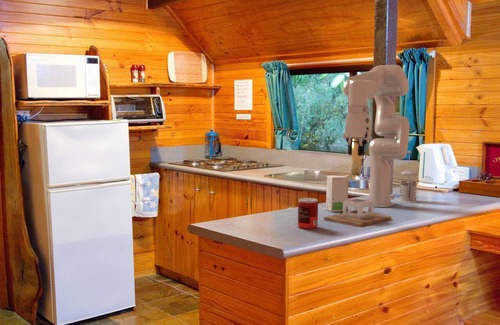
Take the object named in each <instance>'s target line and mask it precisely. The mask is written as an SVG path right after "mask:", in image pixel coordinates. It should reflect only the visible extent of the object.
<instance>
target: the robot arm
mask: <svg viewBox="0 0 500 325" xmlns="http://www.w3.org/2000/svg"><path fill="white" fill-rule="evenodd" d="M343 83H344V84H343V86H342V92H343V95H344V96H345V97H346V98H348V113H347V115H346V119H345V127H344V134H343V135H342V138H343V139H344V140H345V141H346V143H347V144H348V154H349V156H352V138H359V143H360V146H359V147H358V155H359V156H361V157H362V156H365V153H366V152H365V151H366V148H365V147H366V146H367V144H368V153H369V163H370V167H369V169H370V170H369V196H368V197H369V198H368V200H371V201H374V207H375V208H389V207H390V208H391V207H393V206H394V203H393V202H392V200H394V199H395V195H391V180H392V179H391V178H392V177H391V176H392V167H391V165H390V164H389V162H388V161H387V160H399V161H400V160H405V158H406V157H407V154H408V148H409V137H410V121H409V118H407V117H406V116H399V115H397V116H396V115H395V112H396V105H395V104H394V102H393V100H392V99H391V98H390V97H403V96H406V95H407V94H408V93H409V89H410V87H409V86H410V84H409V81H408V78H407V76H406V73H405V71H404V69H403V67H402V66H400V65H398V64H379V65H376V66H374V67H373V68H371V69H370V70H369V71H367V72H363V73H360V74H357V75H356V74H355V75H353V76H350V77H348V78H347V79H346V80H345V82H343ZM371 98H374V101H375V105H376V113H375V121H374V132H375V134H376V135H377V136H379V137H381V138H379V137H378V138H377V137H376V138H373V137H372V136H371V135H372V134H371V133H372V132H371V131H372V130H371V128H372V127H371V119H370V118H371V117H370V114H369V113H368V112H369V111H370V108H369V107H368V99H371ZM383 137H384V138H383ZM385 137H392V138H385ZM393 137H396V138H393Z"/></svg>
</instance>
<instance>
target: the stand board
mask: <svg viewBox="0 0 500 325" xmlns="http://www.w3.org/2000/svg"><path fill="white" fill-rule="evenodd" d="M323 220H324V221H327V222H332V221H333V223H337V222H338V223H337V224H342V223H343V224H345V225H347V224H348V226H352V225H353V226H354V227H357V226H358V228H361V226H362V227H365V226H370V225H373V224H378V223H383V222H387V221H392V216H390V215H383V214H378V213H373V217H372V218H367V219H363V220H358V219H352V218H347V217H343V212H341V213H337V214H333V215H328V216H324V217H323ZM343 224H342V225H343ZM353 226H352V227H353Z"/></svg>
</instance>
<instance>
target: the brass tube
mask: <svg viewBox="0 0 500 325" xmlns="http://www.w3.org/2000/svg"><path fill="white" fill-rule="evenodd" d="M359 146H360V143H359V138H352V155H351V162H350V164H351V168H350V170H351V171H350V172H351V173H350V175H351V176H361V175H362V156H359V155H358V147H359Z"/></svg>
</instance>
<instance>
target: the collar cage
mask: <svg viewBox="0 0 500 325" xmlns="http://www.w3.org/2000/svg"><path fill="white" fill-rule="evenodd" d="M349 207H350V208H353V209H350V210H349ZM364 208H367V209H368V210H364ZM342 213H343V217H347V218H352V219H358V220H363V219H367V218H372V217H373V214H374V213H375V211H374V201H371V200H369V199H365V198H364V199H363V198H358V197H354V198H351V199H349V198H348V200H343V212H342Z"/></svg>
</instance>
